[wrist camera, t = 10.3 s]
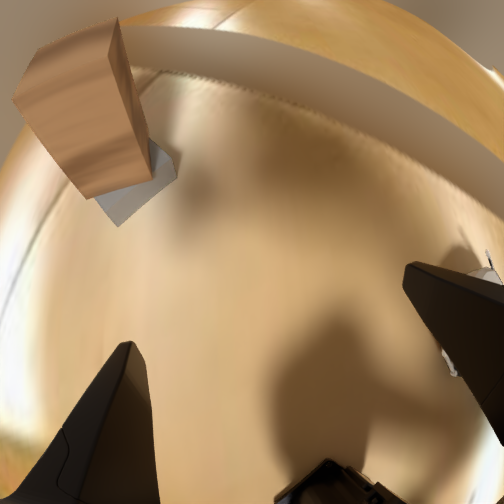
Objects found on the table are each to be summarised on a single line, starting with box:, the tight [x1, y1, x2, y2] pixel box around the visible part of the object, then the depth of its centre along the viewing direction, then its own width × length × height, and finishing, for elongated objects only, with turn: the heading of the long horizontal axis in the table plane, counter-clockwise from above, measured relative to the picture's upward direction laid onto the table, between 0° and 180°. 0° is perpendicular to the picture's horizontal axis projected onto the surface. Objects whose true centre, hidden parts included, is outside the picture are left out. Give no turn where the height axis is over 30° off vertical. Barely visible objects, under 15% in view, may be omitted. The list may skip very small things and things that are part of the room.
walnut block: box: [12, 17, 153, 200], centre depth 16 cm, size 6×6×12 cm
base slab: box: [94, 138, 177, 227], centre depth 23 cm, size 7×7×3 cm
